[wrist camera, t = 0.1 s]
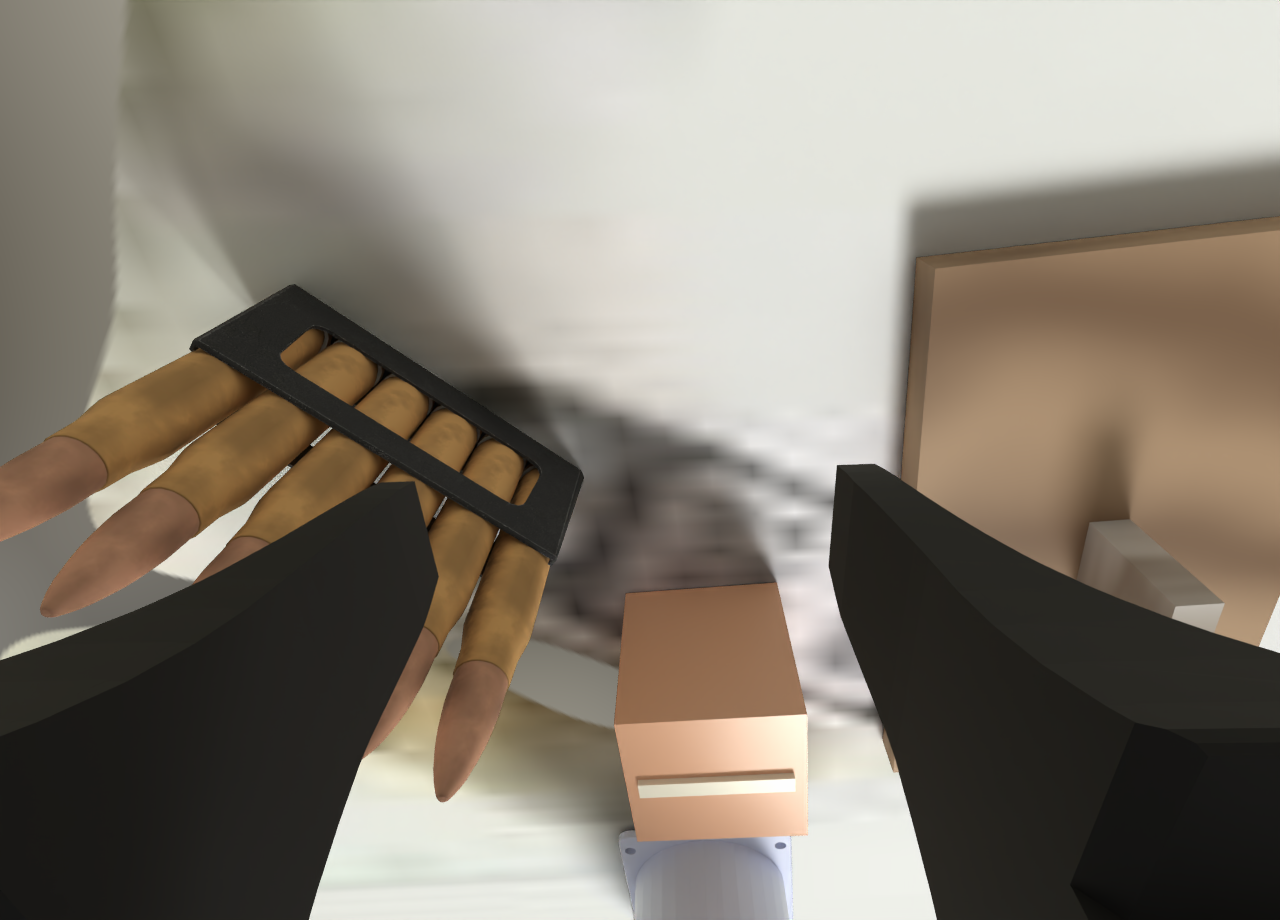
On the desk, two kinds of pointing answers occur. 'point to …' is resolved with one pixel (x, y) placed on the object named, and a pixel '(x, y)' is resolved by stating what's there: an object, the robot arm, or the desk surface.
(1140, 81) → the desk surface
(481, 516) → the ammunition clip
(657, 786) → the orange cube
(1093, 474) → the mount
